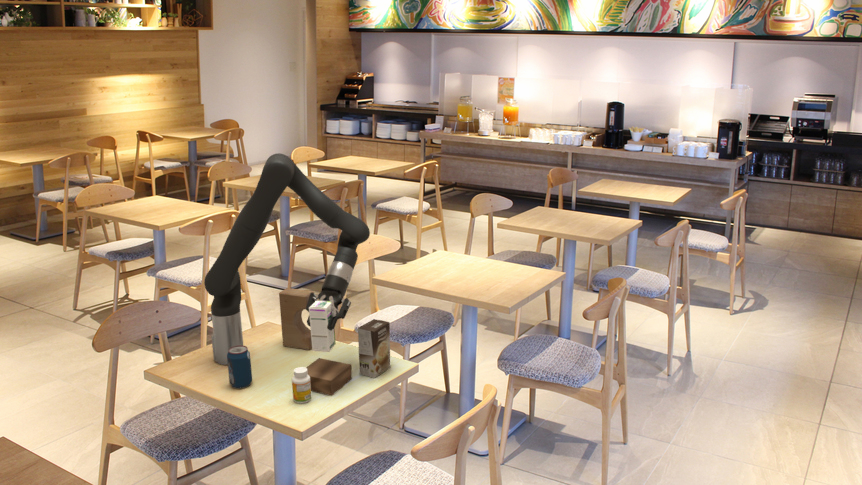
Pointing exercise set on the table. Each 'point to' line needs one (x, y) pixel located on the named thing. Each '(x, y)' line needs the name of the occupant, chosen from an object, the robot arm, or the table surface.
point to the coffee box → (374, 348)
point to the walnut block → (328, 375)
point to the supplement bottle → (301, 385)
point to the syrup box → (321, 326)
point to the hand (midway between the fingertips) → (319, 327)
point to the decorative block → (294, 318)
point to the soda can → (239, 367)
